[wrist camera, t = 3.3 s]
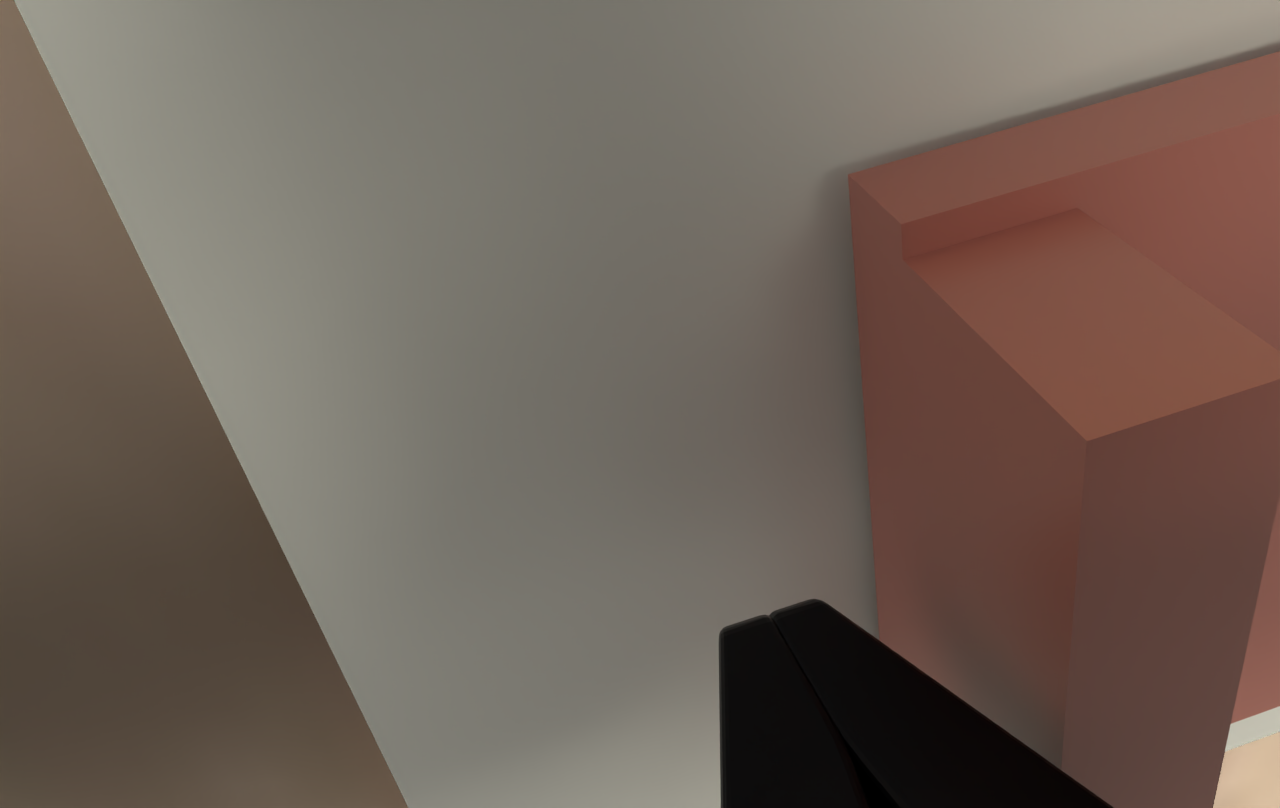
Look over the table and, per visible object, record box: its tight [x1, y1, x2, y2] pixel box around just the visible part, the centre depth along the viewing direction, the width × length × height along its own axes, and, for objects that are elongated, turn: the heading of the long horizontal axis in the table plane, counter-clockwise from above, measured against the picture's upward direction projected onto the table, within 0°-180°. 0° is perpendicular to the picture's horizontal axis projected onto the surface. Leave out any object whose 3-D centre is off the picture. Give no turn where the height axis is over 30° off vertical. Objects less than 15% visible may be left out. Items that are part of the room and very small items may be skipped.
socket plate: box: [14, 0, 1280, 808], centre depth 11 cm, size 18×11×2 cm, turn 100°
